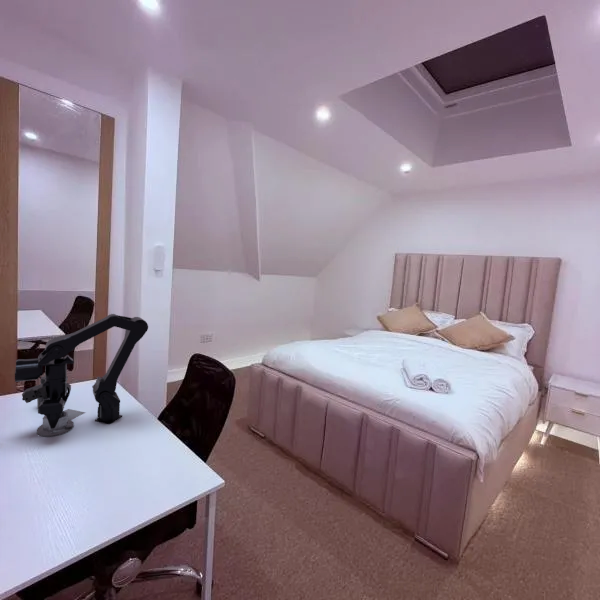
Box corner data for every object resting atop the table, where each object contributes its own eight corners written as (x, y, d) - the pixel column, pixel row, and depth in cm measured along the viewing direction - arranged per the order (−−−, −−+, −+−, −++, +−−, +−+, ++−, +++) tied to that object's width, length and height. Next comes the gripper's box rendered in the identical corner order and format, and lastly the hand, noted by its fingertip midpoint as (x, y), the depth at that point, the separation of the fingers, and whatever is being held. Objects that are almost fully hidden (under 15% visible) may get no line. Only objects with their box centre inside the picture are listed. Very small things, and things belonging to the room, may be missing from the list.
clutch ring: (68, 420, 114) (68, 409, 114) (65, 429, 108) (65, 418, 108) (45, 423, 111) (45, 412, 111) (41, 432, 105) (41, 421, 105)
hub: (81, 425, 114) (81, 414, 113) (54, 440, 104) (54, 427, 104) (57, 420, 116) (57, 409, 115) (28, 434, 106) (28, 422, 106)
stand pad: (85, 413, 123) (85, 412, 123) (66, 422, 115) (66, 421, 115) (68, 409, 124) (68, 408, 124) (48, 418, 117) (48, 418, 117)
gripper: (32, 369, 112) (32, 413, 114) (16, 389, 96) (16, 439, 98) (71, 367, 118) (70, 408, 119) (62, 386, 101) (62, 433, 103)
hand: (55, 421), depth 110 cm, fingers open, 9 cm apart
